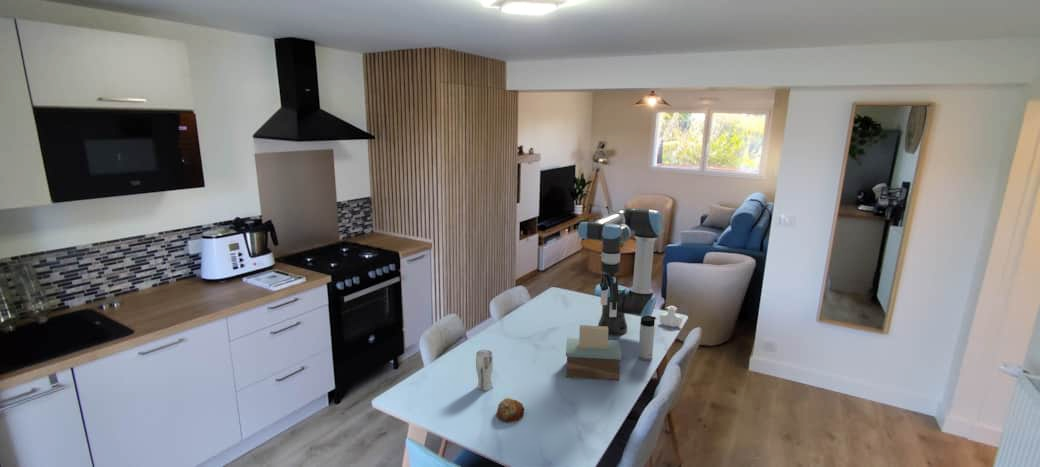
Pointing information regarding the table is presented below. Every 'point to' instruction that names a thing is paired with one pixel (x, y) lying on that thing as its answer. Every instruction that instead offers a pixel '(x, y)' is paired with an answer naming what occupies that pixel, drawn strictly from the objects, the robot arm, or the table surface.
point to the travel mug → (646, 337)
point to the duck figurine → (670, 318)
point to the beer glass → (484, 369)
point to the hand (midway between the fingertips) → (608, 310)
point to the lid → (593, 344)
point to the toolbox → (593, 368)
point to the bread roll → (510, 410)
